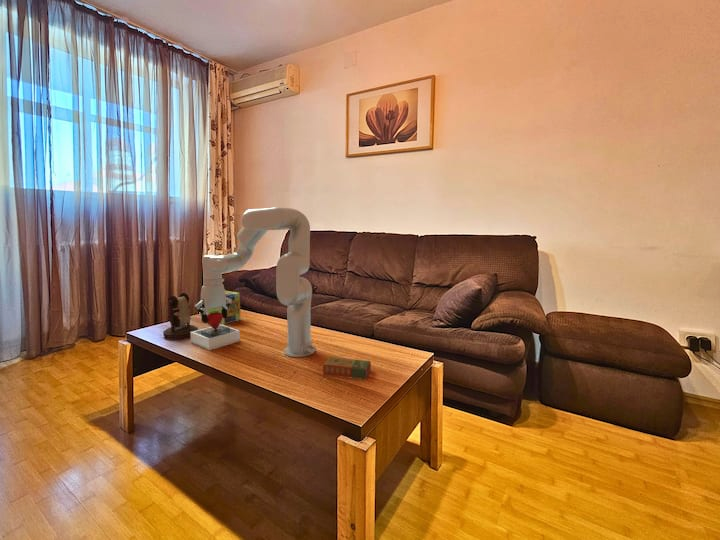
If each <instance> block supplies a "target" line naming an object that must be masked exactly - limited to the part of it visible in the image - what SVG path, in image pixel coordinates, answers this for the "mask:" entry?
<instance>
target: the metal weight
mask: <svg viewBox="0 0 720 540" xmlns="http://www.w3.org/2000/svg"><path fill="white" fill-rule="evenodd" d="M226 326H227V325H225V326H221V324H220V326H218V328H217V329H214V328H209V327H208V328H209V329H206V330H203V331H201V335H202V336H205V337H207V338H212V337H216V336H219V335H223V334H227V333H230V326H228V327H226Z"/></svg>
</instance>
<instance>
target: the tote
mask: <svg viewBox="0 0 720 540" xmlns="http://www.w3.org/2000/svg"><path fill="white" fill-rule="evenodd" d="M220 325H221V326H226V327H230V326H227V325H226V324H225V325H224V324H221V323H220ZM220 325H219V326H220ZM209 328H213V327H211V326H208V327H206V328H202V329H198V330H197V331H193V332H190V333H191V335H190V344H193V345H195V346H197V345H198V347H200V348H202V349H204V348H205V350H206V351H212V349H213V350H215V349H220V348H222V347H225V346H228V345H231V344H234V343H239V342H241V335H240V334H241V330H239V329H237V328H233V327H230V333H227V334H223V335H219V336H216V337H212V338H207V337H205V336H202V335H201V331H203V330H206V329H209Z"/></svg>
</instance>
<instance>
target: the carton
mask: <svg viewBox="0 0 720 540" xmlns="http://www.w3.org/2000/svg"><path fill="white" fill-rule="evenodd" d="M371 367H372V365H371V361H370V360H364V359H363V360H361V359H354V358H353V359H352V358H346V357H345V358H343V357H335V356H330V357H328V359H326V361H325V362H324V364H323V367H322V375H323V376H329V375H331V377H338V376H342V377H341V378H347V377H352V378H351V379H355V378H361V379H360V380H363V379H368V378H369V375H370V373H369V372H371V369H372V368H371ZM368 374H369V375H368Z"/></svg>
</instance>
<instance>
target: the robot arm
mask: <svg viewBox="0 0 720 540" xmlns="http://www.w3.org/2000/svg"><path fill="white" fill-rule="evenodd" d="M240 219H241V220H240V221H241V222H240V223H241V225H242V228H241V229H240V230H239V231H238V232H237V235H236V238H237V240H238V242H239V243H240V244H239V246H238V248H236V250H235V251H234V252H233V253H230V254H223V255H219V254H217V253H216V254H215V253H214V254H205V255H203V256H202V259H201V261H202V277H203V278H202V279H203V285H202V286H201V290H200V300H199V302H198V303H196V304H195V305H194V308H195V310H196V311H197V312H198V313H199V314H201V315H200V316H201V323H204V324H208V323H207V311H208V309H213V308H217V307H222V308H223V309H222V310H221V312H222V316H223V318H225V319H226V318H227V310H228V307H229V306H230V303H231V301H232V299H230V298H228V297H226V294H225V287H224V284H223V282H225V278H223V275H222V274H226V273H230V272H236V271H239V270H240V269H242V268H243V267H244V266H245V265H246V264H247V263H248V261H249V260H250V259H251V258H252V256H253V254H254V251H255V246H256V245H257V244H258V243H259V241H260V240H261V239H262V238H263V237H264V236H265V234H266V233H267V232H268V231H277V230H278V231H282V230H283V231H284V230H289V231H290V232H289V233H290V234H289V237H288V242H287V243H288V245H287V246H288V252H287V253H285V254H283V255H281V256H280V257H279V259H278V260H277V262H276V268H275V269H276V273H275V278H276V280H275V281H276V283H275V284H276V285H275V287H276V289H275V292H276V297H277V300H278V301H279V302H280V304H282V305H284V306H286V307H287V310H286V312H287V313H286V314H287V316H286V317H287V318H286V319H287V320H286V322H287V324H286V325H287V346H286V347H285V348H284V349H283V353H284V355H285V356H288V357H290V358H303V357H308V356H311V355H312V354H314V353H315V351H316V350H317V346H313V342H312V340H311V337H312V336H311V335H312V334H311V326H312V325H311V308H312V307H311V305H312V304H311V303H312V298H313V296H312V295H313V287H312V284H311V282H310V281H309V279H307V278H305V277H301V275H303V274H306V273H307V272H308V271H309V269H310V266H311V265H310V262H311V261H310V259H311V257H310V255H311V254H310V253H311V250H310V249H311V245H310V244H311V243H310V242H311V241H310V240H311V225H310V221H309V219H308V217H307V216H306V215H305V214H304V213H303V212H301V210H298V209H294V208H290V207H267V208H263V207H262V208H252V209H251V208H250V209H247V210H245V212H244V213H242V215H241V218H240ZM226 300H227V303H226Z"/></svg>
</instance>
